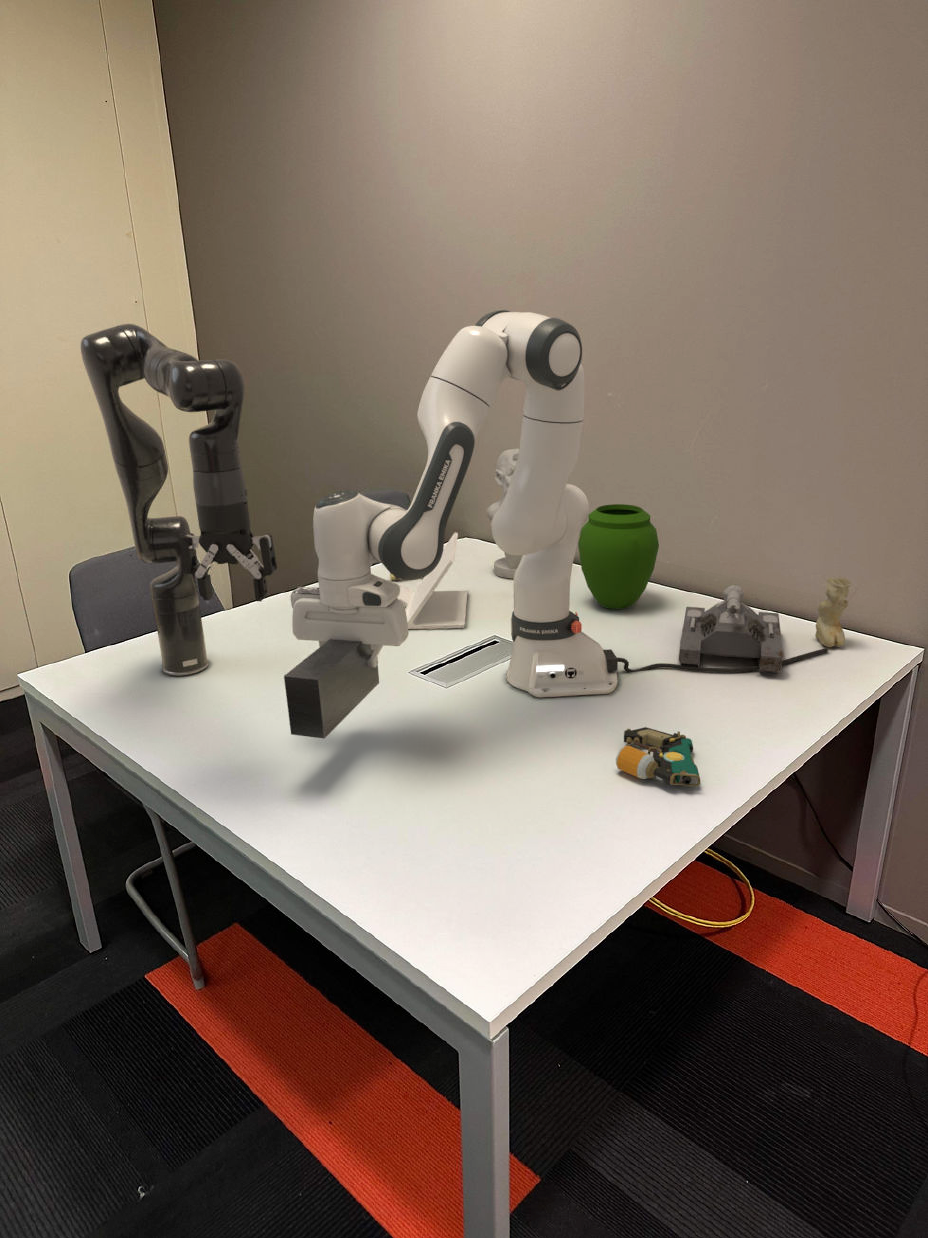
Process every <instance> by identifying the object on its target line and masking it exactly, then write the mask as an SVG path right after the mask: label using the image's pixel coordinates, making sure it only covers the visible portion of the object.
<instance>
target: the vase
mask: <svg viewBox="0 0 928 1238" xmlns="http://www.w3.org/2000/svg"><path fill="white" fill-rule="evenodd" d="M659 543H660V542H659V537H658V531H657V528H656V527H655V526H654V524H653V523H652V522H651V515H650V514H649V512H647V511H645V510H644V509H643V508H642V507H641V506H638V505H633V504H622V503H621V504H619V503H616V504H615V503H614V504H604V505H601V506H598V507H597V508H595V509H594V510H592V511H591V512H589V515H588V521H586V522H585V523H584V525H583V527H582V530H581V533H580V536H579V540H578V544H577V547H578V554H579V562H580V569H581V571H582V574H583V577H584V580H585V583H586V585H587V588H588V590H589V591H590V594H592V597H593V598H594V600H595V601H596V602H597V603H598V604H599V605H600V606H602V607H604V608H606V609H609V610H625V609H628V608H630V607H632V606H634V604H636V602H638V601H639V599H640V597H641V596H642V595H643V593H644V592H645V590H646V588H647V586H648V584H649V581H650V579H651V577H652V574H653V572H654V570H655V566H656V562H657V557H658V552H659V548H660V544H659Z"/></svg>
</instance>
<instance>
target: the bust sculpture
mask: <svg viewBox="0 0 928 1238" xmlns="http://www.w3.org/2000/svg"><path fill="white" fill-rule="evenodd" d="M518 453H519V448H512V449H506V450H504V451H502V452H501V454H500V455H499V457H498V459H497V461H496V468H495V471H494V480H495V482H496V484H497V486H498V487H501V488H502V494H501V497H500V499H499V501H496V502H494V503H492V504H491V505H490V506H488V508H487V509H486V513H485V514H486V517H487V518H488V519H489V520H490V523H491V522H492V519H493V516H494V514H495V513H496V511H497V510H498V509H499V507H500V506H501V504H502V502H503V500H504V498H505V495H506V493H507V490H508V487H509V484H510V481H511V478H512V476H513V472H514V469H515V466H516V462H517V459H518ZM503 553H504V557H502V558H498V559H496V560H495V561H494V562H493V573H494V574H495V575H496V576H497V577H500V578H506V579H514V574H515V571H516V569H517V568H518V566H519V564H520V562H521V559H522V556H523V555H518V556H515V555H510V554H507V553H505V552H504V551H503Z"/></svg>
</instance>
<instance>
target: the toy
mask: <svg viewBox="0 0 928 1238" xmlns="http://www.w3.org/2000/svg"><path fill="white" fill-rule="evenodd" d="M722 595H723V599H724V600H722V601H719V602H718V603H716V604H714V605H712V607H710V608H709V609H707V610H706V608H705V607H698V606H686V607H685V612H684V613H685V614H684V618H683V619H684V620H683V625H682V631H681V637H680V643H679V644H680V645H679V654H678V662H679V665H685V666H694V667H700V661H701V654H703V655H706V656H707V655H708V656H718V657H719V656H720V657H729V658H741V659H743V658H744V659H758V666H759V670H758V672H761V673H771V674H779V673H781V671H782V666H783V665H782V662H783V660H784V647H783V638H782V632H781V631H782V630H781V623H780V614H779V612H769V611H767V612H766V611H758V613H757V612H755V611H754V610H753V609H752V608H751V607H750V606H749V605H748V604H746V603H744V602H743V601H742V600H743V599H744V595H745V594H744V590H743V588H742V587H741V586H739V585H735V584H733V585H732V584H731V585H729V586H727V588H725V589H724V591H723V594H722Z"/></svg>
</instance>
